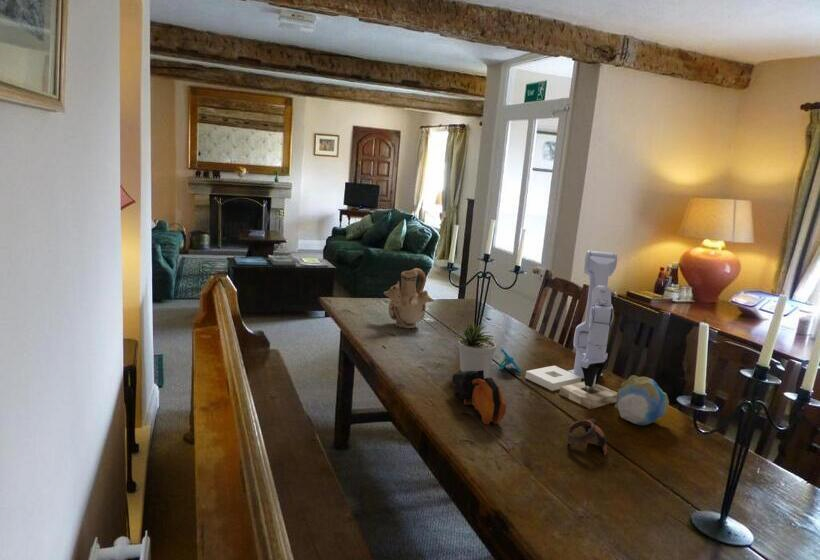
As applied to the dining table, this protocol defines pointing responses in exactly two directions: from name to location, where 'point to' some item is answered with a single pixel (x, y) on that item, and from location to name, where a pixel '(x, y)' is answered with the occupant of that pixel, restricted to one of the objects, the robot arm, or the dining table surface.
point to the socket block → (552, 377)
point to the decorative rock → (641, 400)
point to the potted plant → (475, 350)
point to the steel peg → (591, 389)
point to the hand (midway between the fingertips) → (590, 384)
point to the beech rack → (588, 395)
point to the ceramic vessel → (408, 299)
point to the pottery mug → (587, 434)
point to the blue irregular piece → (507, 361)
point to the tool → (480, 394)
